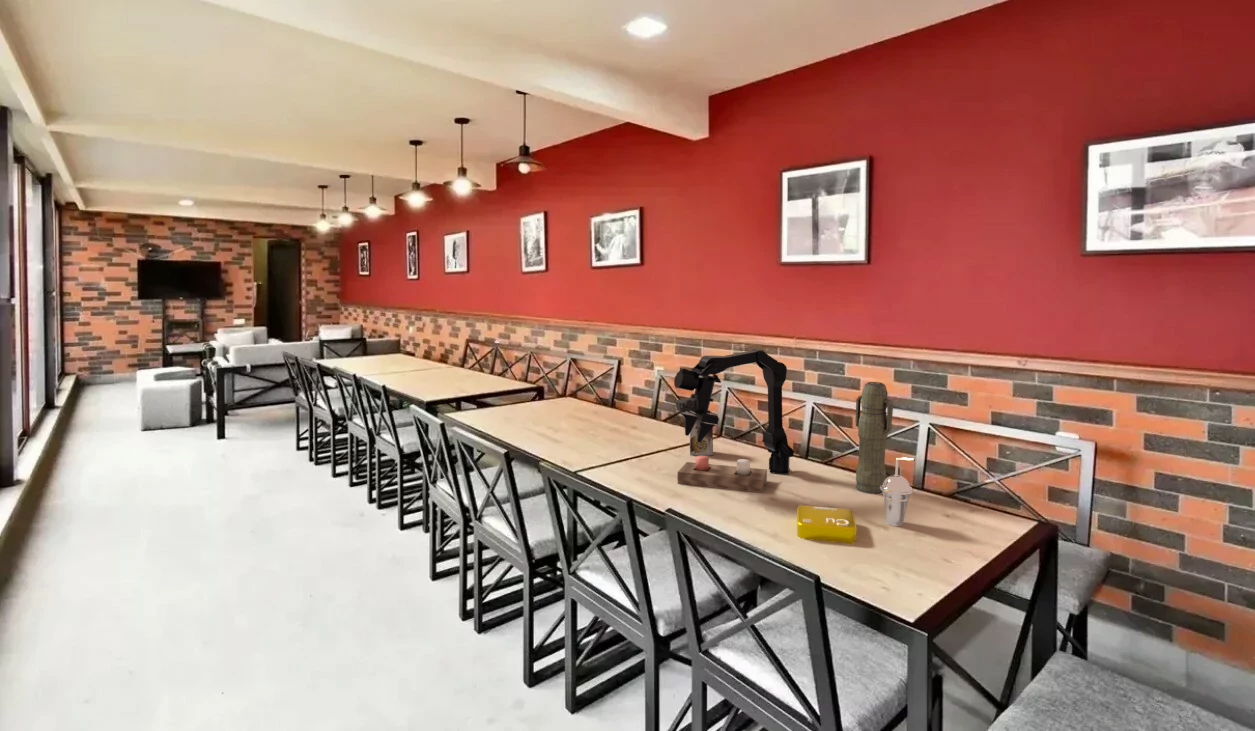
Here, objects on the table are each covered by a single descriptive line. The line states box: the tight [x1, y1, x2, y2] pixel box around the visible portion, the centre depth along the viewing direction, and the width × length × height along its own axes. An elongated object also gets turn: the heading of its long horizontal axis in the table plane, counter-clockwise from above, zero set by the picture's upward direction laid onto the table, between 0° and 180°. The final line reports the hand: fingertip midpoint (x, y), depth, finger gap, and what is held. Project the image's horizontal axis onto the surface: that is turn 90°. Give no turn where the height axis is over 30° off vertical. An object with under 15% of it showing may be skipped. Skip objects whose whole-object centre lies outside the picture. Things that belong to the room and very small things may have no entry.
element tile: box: [796, 505, 857, 544], centre depth 173 cm, size 15×15×5 cm
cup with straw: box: [880, 456, 915, 527], centre depth 176 cm, size 8×9×20 cm
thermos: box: [855, 381, 894, 495], centre depth 203 cm, size 9×12×35 cm
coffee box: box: [689, 411, 714, 456], centre depth 248 cm, size 9×6×16 cm
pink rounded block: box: [695, 455, 710, 471], centre depth 215 cm, size 4×4×4 cm
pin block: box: [677, 461, 768, 493], centre depth 214 cm, size 28×12×4 cm, turn 70°
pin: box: [736, 458, 751, 475], centre depth 211 cm, size 4×4×4 cm
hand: (692, 438), depth 211 cm, fingers open, 9 cm apart
